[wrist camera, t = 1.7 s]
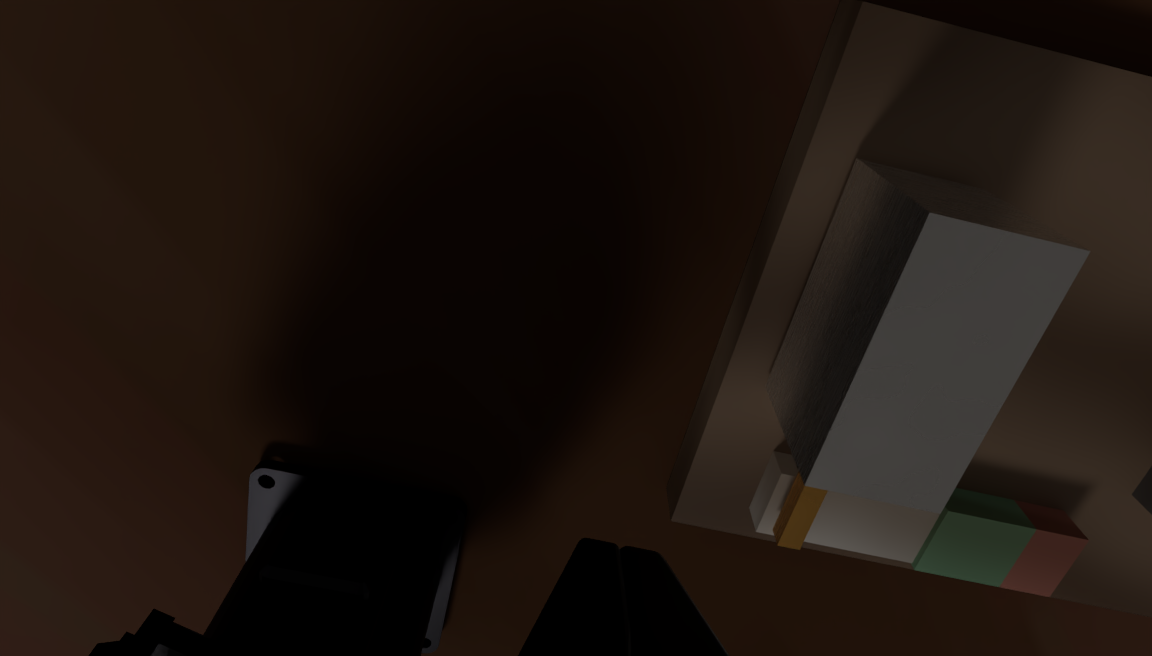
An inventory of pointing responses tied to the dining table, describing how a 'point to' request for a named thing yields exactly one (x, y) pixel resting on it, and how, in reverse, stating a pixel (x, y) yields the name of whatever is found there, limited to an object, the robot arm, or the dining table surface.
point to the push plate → (909, 339)
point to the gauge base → (1058, 363)
